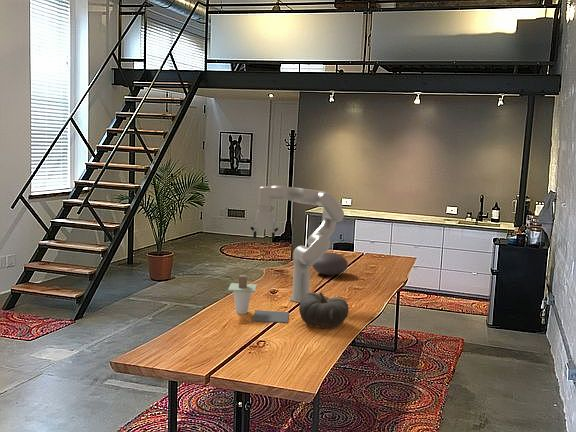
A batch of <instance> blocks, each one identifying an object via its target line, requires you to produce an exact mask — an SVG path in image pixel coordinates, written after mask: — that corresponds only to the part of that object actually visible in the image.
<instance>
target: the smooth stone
mask: <svg viewBox="0 0 576 432" xmlns="http://www.w3.org/2000/svg"><path fill="white" fill-rule="evenodd" d="M311 266H312V268H313V270H314V271H316V272H317V273H319V274H321V275H325V276H337V275H340V274H343V273H344V272H345V271H346V270H347V269H348V266H349V263H348V260H347V258H345V257H344V256H342V255H340V254H338V253H333V252H325V254H324V255H323V256H322V257H321V258H320V259H319V260H318V261H317V262H316V263H314V264H313V265H311Z"/></svg>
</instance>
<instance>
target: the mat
mask: <svg viewBox="0 0 576 432" xmlns="http://www.w3.org/2000/svg"><path fill="white" fill-rule="evenodd" d="M253 313H254V314H253V318H252V320H251V321H252V322H261V323H262V322H263V323H277V324H278V323H281V324H288V323H289V322H288V321H289V315H290V314H289V311H276V310H273V311H272V310H254V312H253Z"/></svg>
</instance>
